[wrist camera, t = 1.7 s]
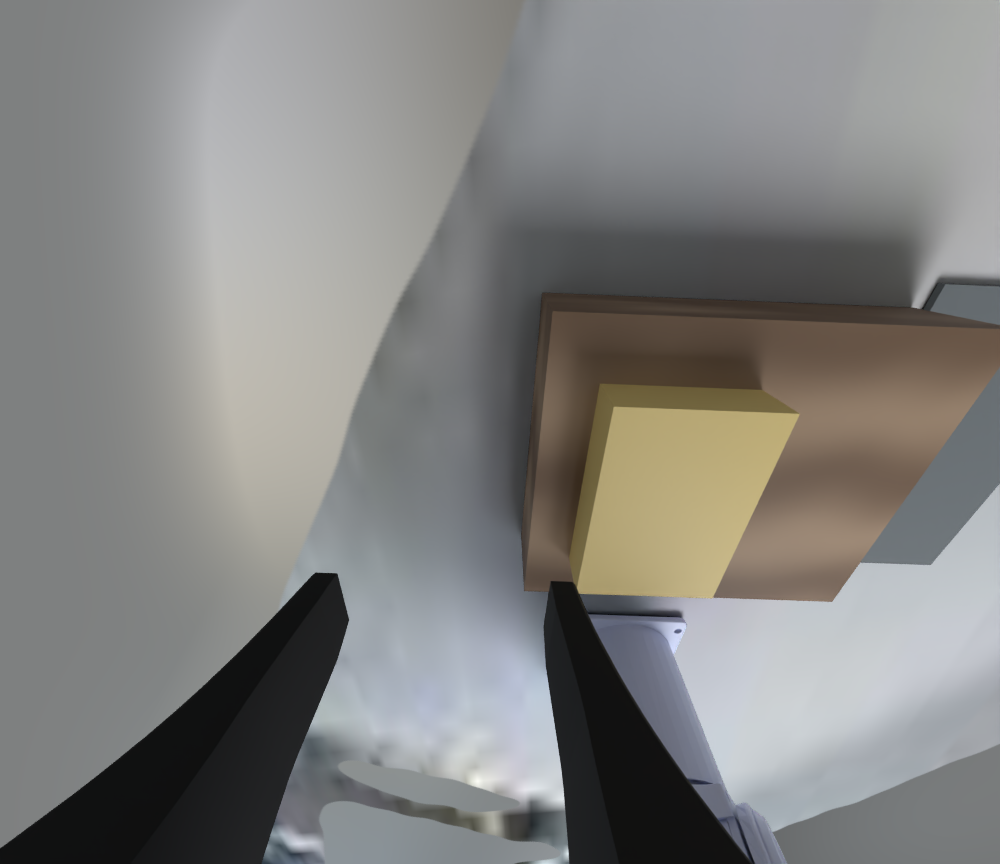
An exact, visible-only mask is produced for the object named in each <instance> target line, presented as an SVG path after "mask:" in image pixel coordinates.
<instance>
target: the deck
mask: <svg viewBox="0 0 1000 864" xmlns="http://www.w3.org/2000/svg"><path fill="white" fill-rule="evenodd" d="M999 367H1000V325H997V324H992V323H987V322H982V321H977V320H972V319H967V318H962V317H957V316H952V315H947V314H942V313H937V312H932V311H927V310H922V309H917V308H910V307H885V306H860V305H835V304H811V303H786V302H761V301H737V300H712V299H687V298H663V297H638V296H613V295H588V294H564V293H542V301H541V313H540V324H539V336H538V347H537V359H536V371H535V382H534V394H533V405H532V417H531V428H530V440H529V451H528V463H527V475H526V486H525V498H524V509H523V521H522V532H521V539H522V558H523V577H524V591H538V592H549V588H550V581H567V582H573V583H574V581H573V576H572V571H571V566H570V560H569V555H570V550H571V544H572V538H573V533H574V527H575V521H576V516H577V510H578V504H579V499H580V493H581V488H582V482H583V476H584V471H585V465H586V459H587V454H588V448H589V442H590V437H591V431H592V425H593V420H594V414H595V409H596V403H597V397H598V392H599V386H600V384H622V385H648V386H674V387H700V388H725V389H751V390H763V391H765V392H766V393H768V394H770V395H771V396H773V397H774V398H776V399H777V400H779V401H781V402H782V403H784V404H785V405H787V406H788V407H790V408H792V409H793V410H795V411H796V412H798V413H799V414H800V415H799V417H798V419H797V421H796V423H795V425H794V428H793V430H792V432H791V434H790V436H789V438H788V440H787V442H786V444H785V447H784V449H783V451H782V453H781V455H780V457H779V459H778V461H777V463H776V466H775V468H774V470H773V472H772V474H771V476H770V478H769V480H768V482H767V485H766V487H765V489H764V491H763V493H762V495H761V497H760V499H759V501H758V504H757V506H756V508H755V510H754V512H753V514H752V516H751V518H750V520H749V522H748V525H747V527H746V529H745V531H744V533H743V535H742V537H741V539H740V541H739V544H738V546H737V548H736V550H735V552H734V554H733V556H732V558H731V560H730V563H729V565H728V567H727V569H726V571H725V573H724V575H723V577H722V579H721V582H720V584H719V586H718V588H717V590H716V592H715V594H714V596H713V598H740V599H768V600H797V601H826V602H832V601H833V600H834V598H835V597H836V595H837V594H838V593H839V591H840V590H841V588H842V587H843V586H844V584H845V583H846V581H847V580H848V579H849V577H850V576H851V574H852V573H853V572H854V570H855V569H856V567H857V566H858V565H859V563H860V562H861V560H862V559H863V558H864V556H865V555H866V553H867V552H868V551H869V549H870V548H871V546H872V545H873V544H874V542H875V541H876V539H877V538H878V537H879V535H880V534H881V532H882V531H883V530H884V528H885V527H886V525H887V524H888V523H889V521H890V520H891V518H892V517H893V516H894V514H895V513H896V511H897V510H898V509H899V507H900V506H901V504H902V503H903V502H904V500H905V499H906V497H907V496H908V495H909V493H910V492H911V490H912V489H913V488H914V486H915V485H916V483H917V482H918V481H919V479H920V478H921V477H922V475H923V474H924V472H925V471H926V470H927V468H928V467H929V465H930V464H931V463H932V461H933V460H934V458H935V457H936V456H937V454H938V453H939V451H940V450H941V449H942V447H943V446H944V444H945V443H946V442H947V440H948V439H949V437H950V436H951V435H952V433H953V432H954V430H955V429H956V428H957V426H958V425H959V423H960V422H961V421H962V419H963V418H964V416H965V415H966V414H967V412H968V411H969V409H970V408H971V407H972V405H973V404H974V402H975V401H976V400H977V398H978V397H979V395H980V394H981V393H982V391H983V390H984V388H985V387H986V386H987V384H988V383H989V381H990V380H991V379H992V377H993V376H994V374H995V373H996V372H997V370H998V369H999Z"/></svg>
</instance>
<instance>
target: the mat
mask: <svg viewBox="0 0 1000 864" xmlns="http://www.w3.org/2000/svg"><path fill="white" fill-rule="evenodd" d="M923 310H927V311H932V312H937V313H942V314H947V315H952V316H957V317H962V318H967V319H972V320H977V321H982V322H987V323H992V324H997V325H1000V286H991V285H966V284H942V283H938V284H937V286H936V288H935V289H934V291H933V293H932V295H931V297H930V298H929V300H928V302H927V304H926V305H925V307H924V309H923ZM999 484H1000V367H999V369H998V370H997V372H996V373H995V374H994V376H993V377H992V379H991V380H990V381H989V383H988V384H987V386H986V387H985V388H984V390H983V391H982V393H981V394H980V395H979V397H978V398H977V400H976V401H975V402H974V404H973V405H972V407H971V408H970V409H969V411H968V412H967V414H966V415H965V416H964V418H963V419H962V421H961V422H960V423H959V425H958V426H957V428H956V429H955V430H954V432H953V433H952V435H951V436H950V437H949V439H948V440H947V442H946V443H945V444H944V446H943V447H942V449H941V450H940V451H939V453H938V454H937V456H936V457H935V458H934V460H933V461H932V463H931V464H930V465H929V467H928V468H927V470H926V471H925V472H924V474H923V475H922V477H921V478H920V479H919V481H918V482H917V483H916V485H915V486H914V488H913V489H912V490H911V492H910V493H909V495H908V496H907V497H906V499H905V500H904V502H903V503H902V504H901V506H900V507H899V509H898V510H897V511H896V513H895V514H894V516H893V517H892V518H891V520H890V521H889V523H888V524H887V525H886V527H885V528H884V530H883V531H882V532H881V534H880V535H879V537H878V538H877V539H876V541H875V542H874V544H873V545H872V546H871V548H870V549H869V551H868V552H867V553H866V555H865V556H864V558H863V559H862V560H861V563H890V564H918V565H931V564H932V563H933V562H934V560H935V559H936V558H937V557H938V556H939V554H940V553H941V552H942V551H943V550H944V549H945V547H946V546H947V545H948V544H949V543H950V541H951V540H952V539H953V538H954V537H955V536H956V534H957V533H958V532H959V531H960V530H961V529H962V527H963V526H964V525H965V524H966V523H967V521H968V520H969V519H970V518H971V517H972V516H973V514H974V513H975V512H976V511H977V510H978V508H979V507H980V506H981V505H982V504H983V503H984V501H985V500H986V499H987V498H988V497H989V496H990V494H991V493H992V492H993V491H994V490H995V488H996V487H997V486H998V485H999Z"/></svg>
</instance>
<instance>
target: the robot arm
mask: <svg viewBox="0 0 1000 864" xmlns="http://www.w3.org/2000/svg"><path fill="white" fill-rule="evenodd" d="M348 622H349V618H348V614H347V610H346V606H345V602H344V598H343V594H342V590H341V586H340V582H339V578H338V574H337V573H315V574H313V575H312V576H311V577H310V578H309V579H308V581H307V582H306V583H305V584H304V585H303V586H302V587H301V588H300V589H299V590H298V591H297V592H296V593H295V594H294V596H293V597H292V598H291V599H290V600H289V601H288V602H287V603H286V604H285V605H284V606H283V607H282V608H281V609H280V610H279V612H278V613H277V614H276V615H275V616H274V617H273V618H272V619H271V620H270V621H269V622H268V623H267V624H266V625H265V626H264V627H263V628H262V629H261V630H260V631H259V632H258V633H257V634H256V635H255V636H254V637H253V638H252V639H251V640H250V641H249V643H248V644H247V645H245V646H244V647H243V649H242V650H240V652H238V653H237V655H235V656H234V657H233V658H232V659H231V660H230V661H229V662H228V663H227V664H226V665H225V666H224V667H223V668H222V669H221V670H220V671H219V672H218V673H217V674H215V676H213V677H212V678H211V679H210V680H209V681H208V682H207V683H206V684H205V685H204V686H203V687H202V688H201V689H200V690H198V691H197V692H196V693H195V694H194V695H193V696H192V697H191V698H190V699H188V700H187V701H186V702H185V703H184V704H183V705H182V706H181V707H180V708H178V709H177V710H176V711H175V712H174V713H173V714H172V715H170V716H169V717H168V718H167V719H166V720H165V721H163V722H162V723H161V724H160V725H159V726H158V727H156V728H155V729H154V730H153V731H152V732H151V733H149V734H148V735H147V736H146V737H145V738H144V739H142V740H141V741H140V742H138V743H137V744H136V745H135V746H134V747H132V748H131V749H130V750H129V751H127V752H126V753H125V754H124V755H123V756H121V757H120V758H119V759H118V760H116V761H115V762H114V763H113V764H111V765H110V766H109V767H108V768H106V769H105V770H104V771H103V772H101V773H100V774H99V775H98V776H96V777H95V778H94V779H92V780H91V781H90V782H89V783H87V784H86V785H85V786H83V787H82V788H81V789H80V790H78V791H77V792H76V793H74V794H73V795H72V796H70V797H69V798H68V799H66V800H65V801H64V802H62V803H61V804H60V805H58V806H57V807H56V808H54V809H53V810H51V811H50V812H49V813H47V815H45V816H43V817H42V818H41V819H40V820H38V821H37V822H35V823H34V824H33V825H31V826H30V827H29V828H27V829H26V830H24V831H23V832H22V833H21V834H19V835H18V836H16V837H15V838H14V839H12V840H11V841H10V842H8V843H7V844H6V845H4V846H3V847H1V848H0V864H261V863H262V860H263V857H264V853H265V850H266V847H267V844H268V841H269V837H270V834H271V831H272V828H273V825H274V822H275V819H276V816H277V813H278V810H279V807H280V804H281V801H282V798H283V795H284V792H285V789H286V786H287V783H288V780H289V777H290V774H291V771H292V769H293V766H294V764H295V761H296V758H297V756H298V753H299V751H300V748H301V746H302V744H303V741H304V739H305V736H306V734H307V732H308V729H309V727H310V724H311V722H312V720H313V717H314V715H315V712H316V710H317V708H318V705H319V703H320V700H321V698H322V696H323V693H324V691H325V688H326V686H327V684H328V681H329V679H330V676H331V674H332V671H333V669H334V666H335V664H336V661H337V659H338V656H339V652H340V649H341V646H342V643H343V639H344V636H345V632H346V629H347V625H348ZM686 627H687V624H686V622H685V620H684V619H683V618H679V617H650V616H621V615H591V614H588V613H587V611H586V609H585V606H584V604H583V602H582V600H581V597H580V595H579V592H578V590H577V587H576V585H575V584H574V583H573V582H567V581H550V588H549V594H548V601H547V608H546V614H545V621H544V641H545V658H546V669H547V676H548V683H549V690H550V696H551V703H552V709H553V716H554V723H555V729H556V736H557V742H558V749H559V755H560V762H561V770H562V778H563V786H564V798H565V811H566V823H567V836H568V849H569V863H570V864H787V862H786V860H785V858H784V856H783V854H782V852H781V849H780V847H779V845H778V843H777V841H776V839H775V837H774V835H773V833H772V830H771V828H770V827H769V825H768V823H767V821H766V819H765V818H764V817H763V816H762V815H760V814H759V813H758V812H756V811H755V810H752V808H751V807H750V805H748V804H747V803H741V804H738V805H735V803H734V802H733V800H732V799H731V797H730V796H729V794H728V793H727V790H726V787H725V785H724V782H723V780H722V777H721V775H720V772H719V770H718V767H717V765H716V762H715V759H714V757H713V754H712V752H711V749H710V747H709V744H708V742H707V739H706V737H705V734H704V731H703V729H702V726H701V724H700V721H699V719H698V716H697V714H696V711H695V709H694V706H693V703H692V701H691V698H690V696H689V693H688V691H687V688H686V686H685V683H684V681H683V678H682V675H681V673H680V670H679V668H678V665H677V663H676V660H675V658H674V654H675V651H676V649H677V647H678V645H679V642H680V640H681V638H682V636H683V634H684V631H685V629H686Z"/></svg>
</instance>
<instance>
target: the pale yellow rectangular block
mask: <svg viewBox="0 0 1000 864" xmlns="http://www.w3.org/2000/svg"><path fill="white" fill-rule="evenodd" d="M799 415H800V414H799V413H798V412H796V411H795V410H793V409H792V408H790V407H788V406H787V405H785V404H784V403H782V402H781V401H779V400H777V399H776V398H774V397H773V396H771V395H770V394H768V393H766V392H765V391H763V390H751V389H725V388H700V387H674V386H648V385H622V384H600V386H599V392H598V397H597V403H596V409H595V414H594V420H593V425H592V431H591V437H590V442H589V448H588V454H587V459H586V465H585V471H584V476H583V482H582V488H581V493H580V499H579V504H578V510H577V516H576V521H575V527H574V533H573V538H572V544H571V550H570V555H569V560H570V566H571V571H572V576H573V581H574V584H575V585H576V587H577V590H578V592H579V594H602V595H631V596H659V597H688V598H713V596H714V594H715V592H716V590H717V588H718V586H719V584H720V582H721V579H722V577H723V575H724V573H725V571H726V569H727V567H728V565H729V563H730V560H731V558H732V556H733V554H734V552H735V550H736V548H737V546H738V544H739V541H740V539H741V537H742V535H743V533H744V531H745V529H746V527H747V525H748V522H749V520H750V518H751V516H752V514H753V512H754V510H755V508H756V506H757V504H758V501H759V499H760V497H761V495H762V493H763V491H764V489H765V487H766V485H767V482H768V480H769V478H770V476H771V474H772V472H773V470H774V468H775V466H776V463H777V461H778V459H779V457H780V455H781V453H782V451H783V449H784V447H785V444H786V442H787V440H788V438H789V436H790V434H791V432H792V430H793V428H794V425H795V423H796V421H797V419H798V417H799Z"/></svg>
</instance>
